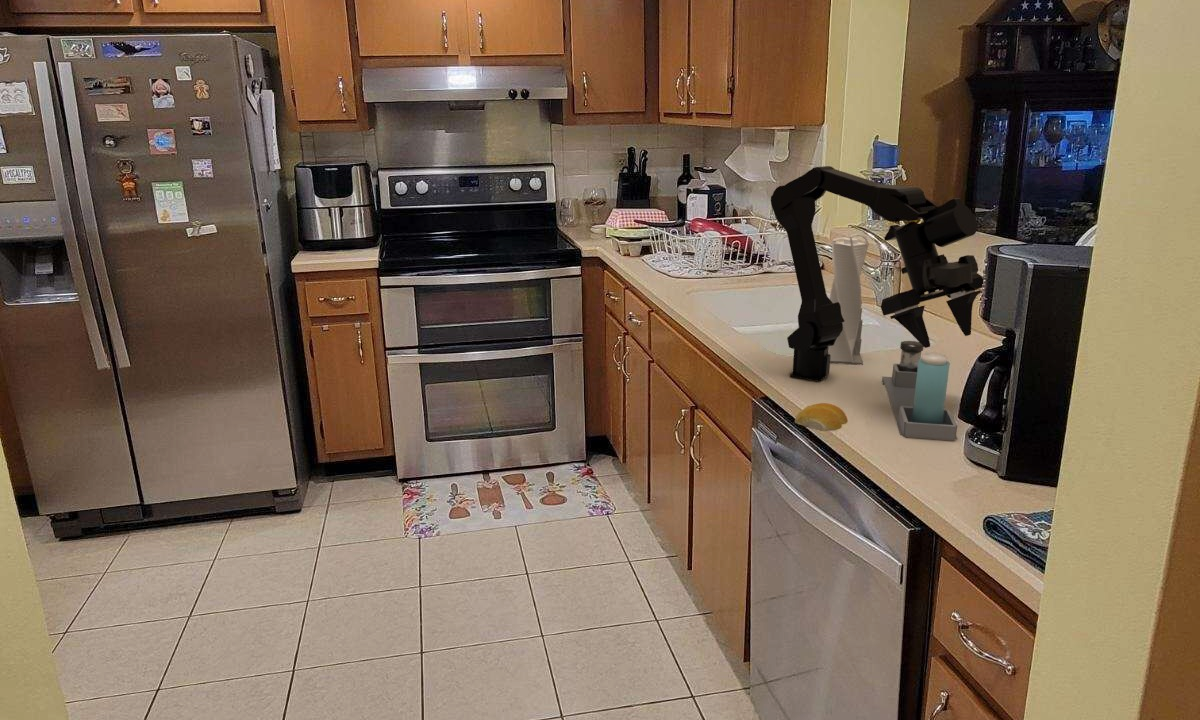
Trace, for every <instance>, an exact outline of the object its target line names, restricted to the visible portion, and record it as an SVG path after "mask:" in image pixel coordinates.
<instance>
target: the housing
mask: <svg viewBox="0 0 1200 720" xmlns="http://www.w3.org/2000/svg"><path fill="white" fill-rule="evenodd" d="M881 377H882V378H881V383H882V382H883V383H882V385H883V386H884V387H885V389H886V390H885V391H886V392H887V393H886V394H887V397H888V400H889V403H890V406H891V410H892V413H893V416H894V420H895V422H896V423H895V424H896V427H897V431H898V433H899V435H900V436H903V437H905V438H909V439H910V438H912V439H923V440H937V441H947V442H948V441H950V442H951V441H952V442H954V441H956V440H958V436H957V431H958V424H957V422H956V419H955V418H954V416H953V413H952V412H951V410H949V409H948V408H944V414H943V422H942V424H929V423H916V422H912V413H913V405H914V396H915V387H916V378H917V372H904V371H900V363H897V362H896V363H894V364H892V373H891V376H881Z"/></svg>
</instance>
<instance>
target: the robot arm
mask: <svg viewBox="0 0 1200 720" xmlns="http://www.w3.org/2000/svg"><path fill="white" fill-rule="evenodd" d="M826 192H829V193H831V194H834V195H837V196H840V197H842V198H845V199H849V200H851V201H854V202H857V203H859V204H863V205H865V206H867V207H869V208H870V209H871V210H872V212H873V213H874V214H875V215H877V216H879V217H881V218H882V219H883V220H886V221H888V222H890V223H896V222H902V221H903V222H904V221H906V222H907V223H905V224H903V225H900V224H892V225H890V226H889V229H888V231H887V232H886V234H885V236H884V237H883V239H884V241H885V242H887V241H894V240H896V242H897V246H898V249H899V253H900V254H901V258H902V262H903V263H904V267H902V268H900V272H901V274H902V275H904V274H907V276H908V279H909V281H910V285H911V289H909V290H906V291H902V292H897V293H896V294H893V295H891V296H890V295H889V297H885V298H883V299H882V300H881V303H880V304H881V305H880V309H881V312H882V315H883V317H885V316H888V315H890V316H889V319H891V320H892V319H894V320H896V321H897V322H898V323H899V324H900V325H902V327H904V329H906V330H907V331H908V332H909V333H910V334H911V335H912V336H913V338H914V339H916V340H917V342H920V343H921V344H922V345H923V347H924V349H926V348H930V347H931V341H930V337H929V334H928V331H927V327H926V324H925V320H924V317H923V315H924V311H925V310H924V309H925V305H921V306H920V303H923V302H927V301H930V300H935V299H938V298H941V297H948V298H949V299H948V300H946V301H945V302H946V304H947V306H948V308H949V310H950V312H951V313H952V315H953V317H954V320H955V321H956V324H957V325H958V327H959V328H960V330H961V332H962V333H963V335H964V336H965V337H967V336H971V335H972V319H973V318H972V314H973V306H974V305H973V304H974V301H975V299H976V298H977V296H978V295H979V294H982V290H981V289H982V284H983V280H984V277H983V276H982V275H981V274H979V273H978V272H979V266H978V265H979V264H978V261H977V259H976V258H975V256H974V255H971V254H970V255H969V254H967V255H966V254H965V255H963V256H960V257H959V259H958V261H954V262H953V261H952V262H949V261H948V259H947V256H945V254H944V253H943V254H940V255H939V252H938V250H937V246H938V248H939V247H940V248H945V247H946V246H949V245H952V244H954V243H958V242H960V241H962V240H965V239H967V238H971V237H972V236H974V235H975V234H976V233H977V231H978V222H977V218H976V215H975V214H974V213H973V212H972V210H971V209H970V208H969V207H968V206H967V205H966V204H964V203H963V200H962V198H961V197H956V198H955V197H954V198H952V199H949V200H948V201H946V202H945V203H943V204H941V205H940V206H938V205H937V204H936V203H935V202H933V201H932V200H931V199H929V198H927V197H926V196H925V192H924V190H923V189H922V188H919V187H917V186H912V185H910V186H909V185H899V184H884V183H879V182H876V181H873V180H871V179H867V178H864V177H860V176H858V175H854V174H851V173H848V172H845V171H841V170H839V169H836V168H834V167H833V166H829V165H825V166H824V165H823V166H814V167H812V168H811V169H809V170H807V172H806V173H804V174H803V175H801V176H798V177H797V178H795V179H793V180H790V181H789V182H787V183H786V184H784V185H779V186H776V188H775V189H774V190H773V192H772V195H771V196H770V205H771V209H772V211H773V214H774V216H775V219H776V221H777V222H778V223H779V224H780V226H781V227H782V228H783V229H784V231H786V236H787V239H788V243H789V249H790V252H791V257H792V262H793V266H794V267H793V268H794V271H795V275H796V280H797V285H798V289H799V295H800V298H801V299H800V300H801V303H800V307H799V310H798V314H797V324H798V327H797V328H796V329H795V330H793V332H792V333H791V334H790V335H789V336H787V343H788V347H789V348H790V349H792V350H793V360H792V372H790V373H789V377H790V378H794V379H795V378H796V379H803V380H808V381H813V382H814V381H815V382H821V381H823V380H824V379H825V378H826V377H827V376H828V375H829V374H830V371H831V370H830V368H831V367H830V366H831V363H830V358H831V355H830V354H828V352H829V351H828V349H829V347H828V346H833V345H834V343H835V341H836V339H837V337H839V335H840V333H841V332H842V330H843V324H842V322H845V321H844V319H843V317H842V314H841V306H840V303H839V302H836V303H832V301H831V300H830V297H828V295H827V290H826V287H825V281H824V278H823V277H824V276H823V273H822V272H823V271H822V268H821V263H820V258H819V254H818V250H817V246H816V245H817V244H816V240H815V236H814V231H813V222H814V219H815V218H814V217H815V216H816V215H815V214H816V210H817V209H816V201H818V200H820V199H821V198H822V197H824V195H825V193H826ZM918 220H919V221H920V220H922V222H921V223H918V222H916V221H918ZM891 314H893V315H891Z"/></svg>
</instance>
